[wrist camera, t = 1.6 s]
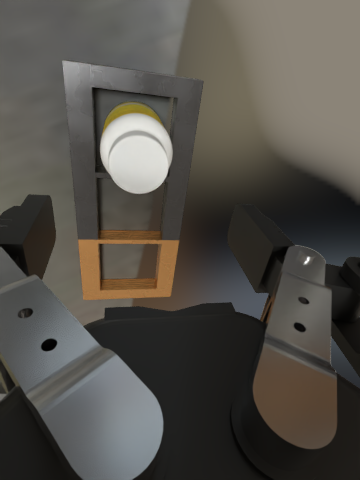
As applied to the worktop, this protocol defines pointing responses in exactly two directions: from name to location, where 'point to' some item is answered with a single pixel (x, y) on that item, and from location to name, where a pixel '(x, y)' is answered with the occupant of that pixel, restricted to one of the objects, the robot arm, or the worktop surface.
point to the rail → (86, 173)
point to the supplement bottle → (135, 147)
